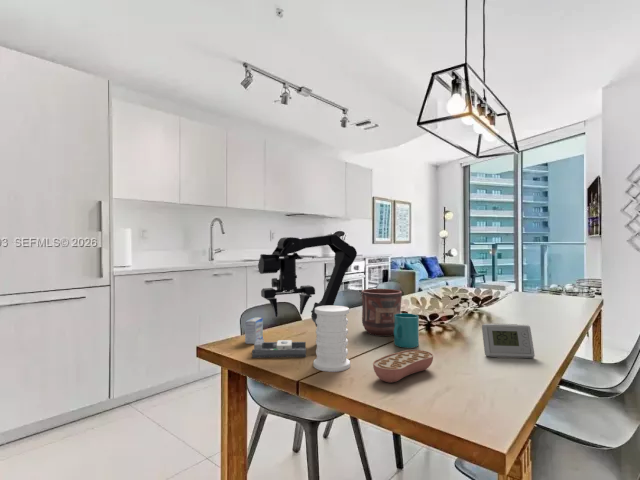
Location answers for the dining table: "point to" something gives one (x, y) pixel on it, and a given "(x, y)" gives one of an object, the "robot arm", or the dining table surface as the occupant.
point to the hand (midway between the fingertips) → (288, 315)
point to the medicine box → (253, 330)
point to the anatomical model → (402, 364)
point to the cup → (406, 330)
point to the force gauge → (283, 344)
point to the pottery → (380, 310)
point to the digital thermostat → (507, 341)
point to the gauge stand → (277, 350)
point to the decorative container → (331, 338)
